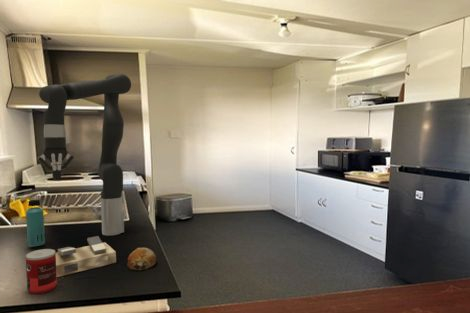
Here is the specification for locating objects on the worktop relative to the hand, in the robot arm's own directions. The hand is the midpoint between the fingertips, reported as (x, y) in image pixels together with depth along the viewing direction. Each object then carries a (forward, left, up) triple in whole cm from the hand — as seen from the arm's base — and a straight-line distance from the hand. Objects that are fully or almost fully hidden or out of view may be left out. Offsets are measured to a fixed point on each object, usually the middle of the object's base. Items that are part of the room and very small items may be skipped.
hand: (56, 179), depth 127 cm
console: (-4, +20, -29) cm, 35 cm away
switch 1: (+1, +20, -24) cm, 32 cm away
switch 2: (-9, +20, -24) cm, 33 cm away
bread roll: (-21, +34, -29) cm, 50 cm away
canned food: (+10, +32, -29) cm, 44 cm away
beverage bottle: (+7, -10, -29) cm, 32 cm away
